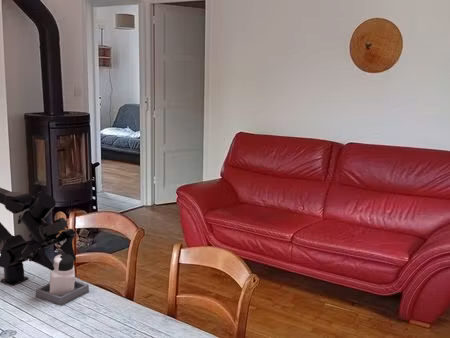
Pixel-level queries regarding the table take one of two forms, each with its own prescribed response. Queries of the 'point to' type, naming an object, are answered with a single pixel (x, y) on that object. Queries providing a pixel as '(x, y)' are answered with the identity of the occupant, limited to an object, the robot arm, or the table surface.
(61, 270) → the medicine bottle
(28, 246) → the robot arm
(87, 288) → the charcoal tray
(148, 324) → the table surface
